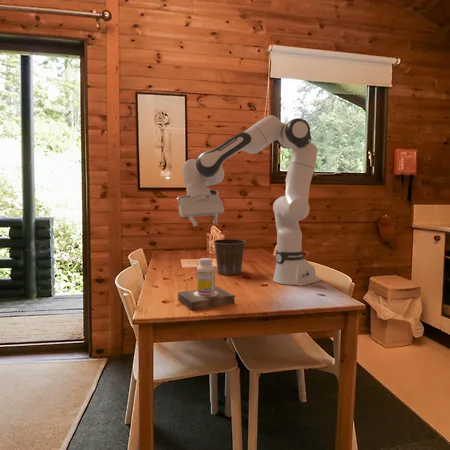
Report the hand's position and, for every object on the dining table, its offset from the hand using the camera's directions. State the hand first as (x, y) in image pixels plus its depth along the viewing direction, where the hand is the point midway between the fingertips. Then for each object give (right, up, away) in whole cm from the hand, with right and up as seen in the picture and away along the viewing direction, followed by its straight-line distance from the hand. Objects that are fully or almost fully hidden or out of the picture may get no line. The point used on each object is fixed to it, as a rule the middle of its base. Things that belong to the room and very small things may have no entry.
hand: (205, 224), depth 145 cm
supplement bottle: (+1, -25, -17) cm, 31 cm away
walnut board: (+1, -29, -17) cm, 33 cm away
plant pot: (+10, -24, +30) cm, 40 cm away
